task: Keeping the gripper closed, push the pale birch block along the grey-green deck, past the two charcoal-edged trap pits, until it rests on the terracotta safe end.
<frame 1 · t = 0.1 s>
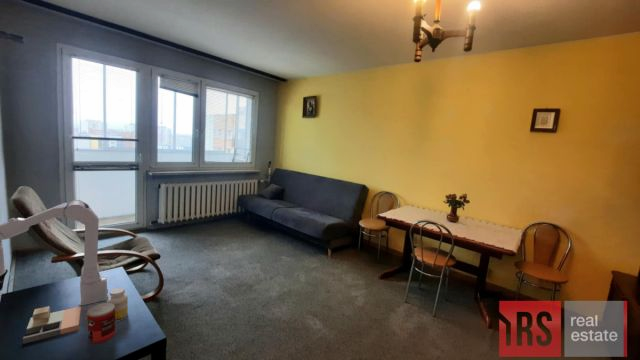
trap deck: (55, 326, 107), on the table
pill bottle: (118, 317, 114), on the table
canned food: (102, 337, 103), on the table
birch block: (42, 320, 106), point 2 cm above the table, touching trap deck
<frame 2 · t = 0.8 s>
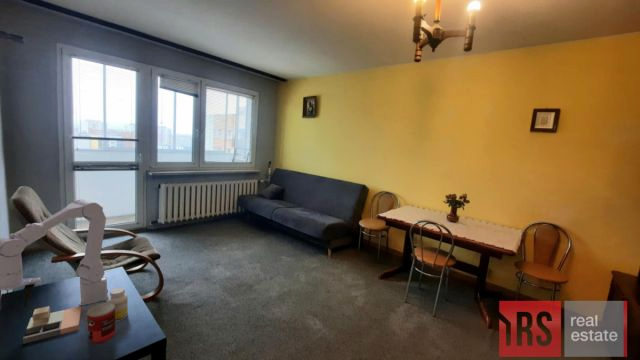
hand: (13, 307, 101), 9 cm above the table, fingers open, 6 cm apart
nothing on the table moved.
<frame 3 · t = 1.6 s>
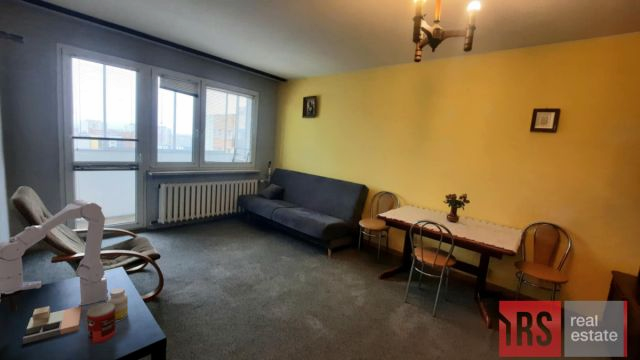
hand: (13, 310, 101), 8 cm above the table, fingers closed
nothing on the table moved.
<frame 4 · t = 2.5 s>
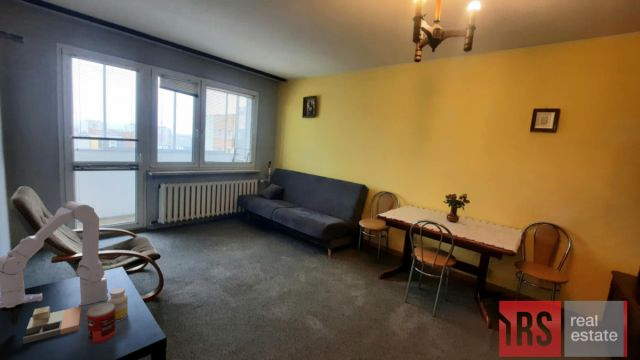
hand: (15, 323, 102), 3 cm above the table, fingers closed
nothing on the table moved.
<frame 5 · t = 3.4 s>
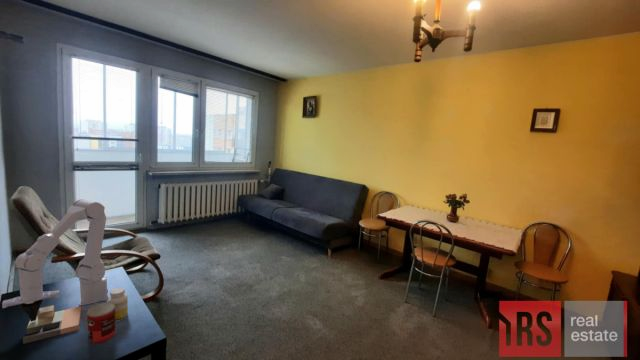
hand: (33, 319, 105), 3 cm above the table, fingers closed
birch block: (46, 319, 107), point 2 cm above the table, touching gripper
everything else where it was.
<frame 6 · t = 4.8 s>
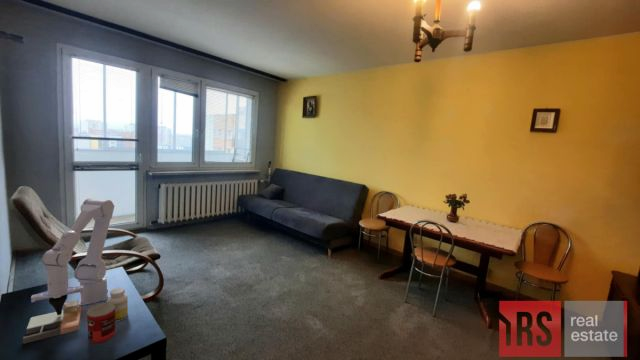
hand: (59, 313, 109), 3 cm above the table, fingers closed
birch block: (70, 313, 111), point 2 cm above the table, touching gripper, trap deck
everything else where it was.
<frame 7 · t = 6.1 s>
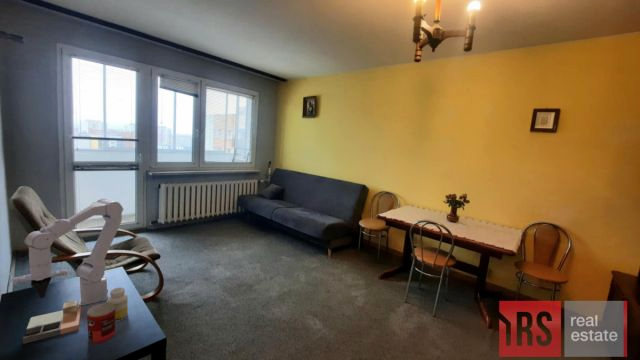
hand: (42, 296, 109), 9 cm above the table, fingers closed
birch block: (70, 313, 111), point 2 cm above the table, touching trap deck
everything else where it was.
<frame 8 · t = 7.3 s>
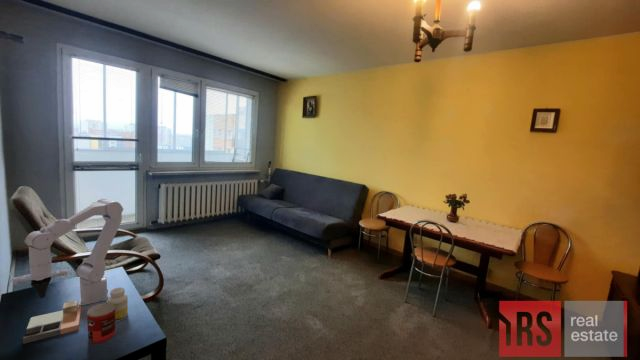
hand: (42, 296, 109), 9 cm above the table, fingers closed
nothing on the table moved.
at the end: birch block 0.6 cm from the target spot, point 2.0 cm above the table; birch block tilted 0°; birch block moved 8.1 cm from its start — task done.
